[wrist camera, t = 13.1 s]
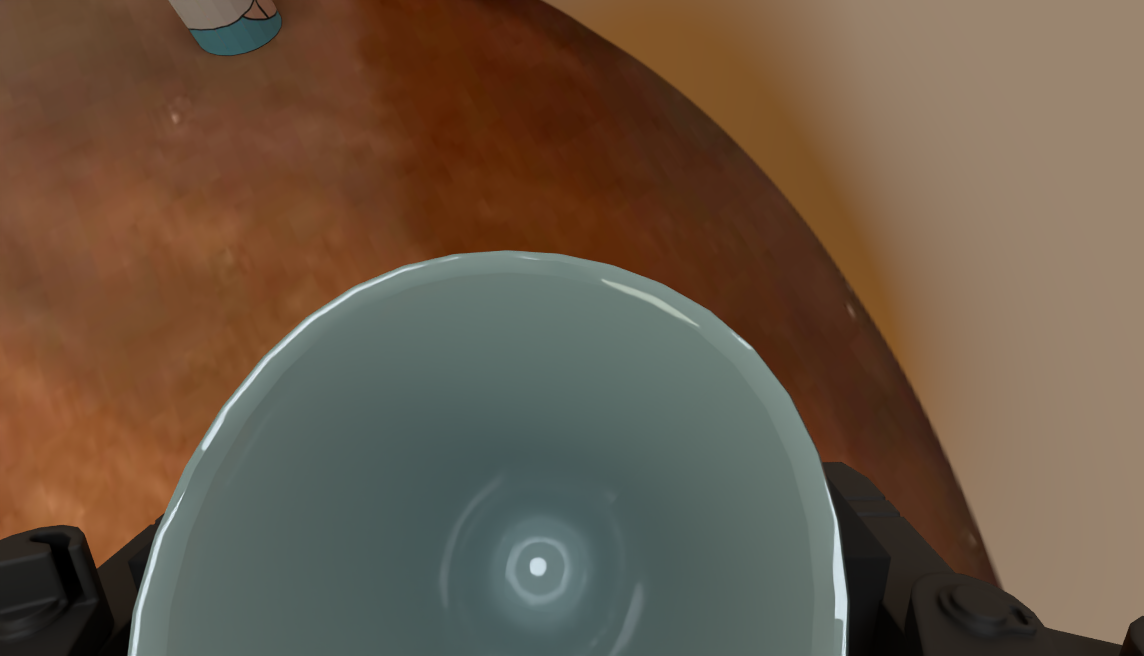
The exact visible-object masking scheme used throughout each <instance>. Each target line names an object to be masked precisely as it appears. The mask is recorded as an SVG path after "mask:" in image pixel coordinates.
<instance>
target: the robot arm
mask: <svg viewBox="0 0 1144 656" xmlns="http://www.w3.org/2000/svg"><path fill="white" fill-rule="evenodd" d="M822 464H823V467H824V471H825V474H826V477H827V481H828V484H829V488H830V491H831V494H832V498H833V501H834V505H835V508H836V511H837V515H838V518H839V522H840V528H841V536H842V544H843V552H844V560H845V568H846V575H847V583H848V591H849V599H850V614H849V648H848V656H1144V616H1141V617H1140V618H1138V619H1137V620H1135V621H1134V622H1132V623H1131V624H1130V626H1129V629H1128V631H1127V634H1126V637H1125V640H1124V642H1123V645H1119V644H1114V643H1110V642H1105V641H1101V640H1097V639H1092V638H1088V637H1083V636H1079V635H1074V634H1070V633H1066V632H1061V631H1057V630H1053V629H1049V628H1046V627H1044V625H1043V624H1042V623H1041V621H1040V620H1039V619H1038V618H1037V616H1036V615H1035V613H1034V612H1032V611H1031V610H1030V609H1029V608H1028V607H1026V606H1025V605H1024V604H1023V603H1021V602H1020V601H1019V600H1018V599H1016V598H1015V597H1014V596H1012V595H1010V594H1008V593H1007V592H1005V591H1003V590H1001V589H999V588H997V587H995V586H994V585H992V584H990V583H988V582H985V581H982V580H979V579H976V578H973V577H970V576H967V575H964V574H957V573H955V572H954V571H953V570H952V569H951V568H950V567H949V566H948V565H947V563H946V562H945V561H944V560H943V559H942V558H941V557H940V556H939V555H938V554H937V553H936V552H935V550H934V549H933V548H932V547H931V546H930V545H929V544H928V543H927V542H926V541H925V540H924V538H923V537H922V536H921V535H920V534H919V533H918V532H917V531H916V530H915V529H914V528H913V527H912V525H911V524H910V523H909V522H908V521H907V520H906V519H905V518H904V517H900V512H899V511H898V510H897V509H896V508H895V507H894V506H893V505H892V504H891V503H890V502H889V500H885V496H884V495H883V494H882V493H881V492H880V491H879V490H878V488H877V487H876V486H875V485H874V484H873V483H872V482H871V481H870V480H869V479H868V478H867V477H865V476H864V475H862V474H860V473H859V472H857V471H856V470H854V469H852V468H851V467H849V466H847V465H846V464H844V463H842V462H822ZM164 514H165V513H164ZM164 514H163V515H161V516H160V517H159V518H158V519H157V520H155V524H154V525H149V526H148V527H147V528H146V529H145V530H143V531H142V532H141V533H140V534H138V535H137V536H136V537H135V538H134V539H132V540H131V541H130V542H129V543H128V544H126V545H125V546H124V547H123V548H122V549H120V550H119V551H118V552H117V553H115V554H114V555H113V556H112V557H111V558H109V559H108V560H107V561H106V562H105V563H103V564H102V565H101V566H100V567H99V568H97V569H96V566H95V563H94V560H93V558H92V555H91V552H90V549H89V546H88V543H87V540H86V537H85V535H84V533H83V532H82V531H81V530H80V529H79V528H78V527H74V526H67V525H57V526H49V527H41V528H37V529H33V530H29V531H26V532H22V533H19V534H15V535H12V536H9V537H7V538H4V539H2V540H0V656H128V648H129V640H130V631H131V623H132V615H133V610H134V606H135V603H136V599H137V596H138V592H139V589H140V585H141V582H142V578H143V575H144V571H145V568H146V564H147V561H148V558H149V554H150V551H151V547H152V544H153V540H154V537H155V534H156V532H157V529H158V527H159V525H160V523H161V521H162V518H163V516H164Z"/></svg>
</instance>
